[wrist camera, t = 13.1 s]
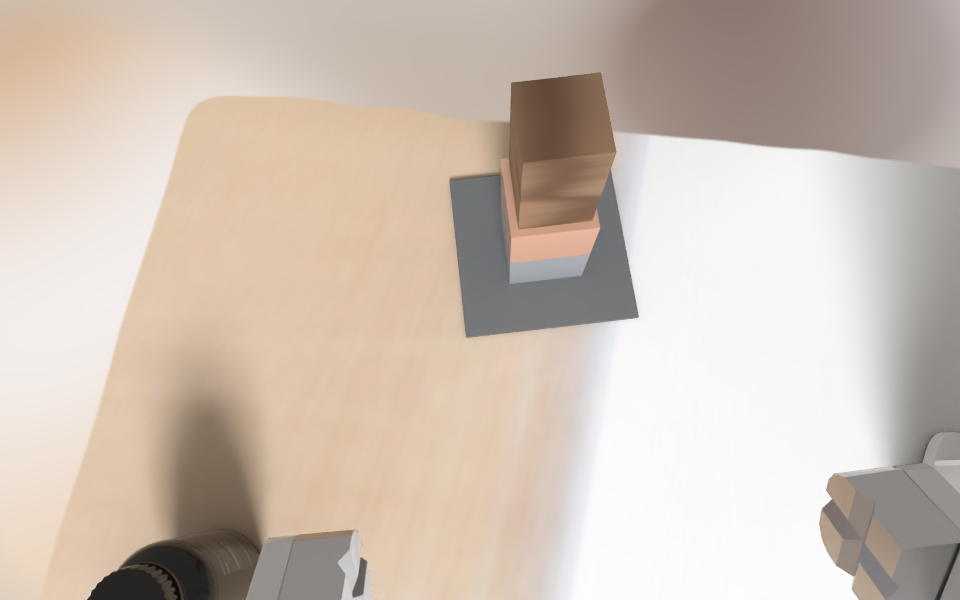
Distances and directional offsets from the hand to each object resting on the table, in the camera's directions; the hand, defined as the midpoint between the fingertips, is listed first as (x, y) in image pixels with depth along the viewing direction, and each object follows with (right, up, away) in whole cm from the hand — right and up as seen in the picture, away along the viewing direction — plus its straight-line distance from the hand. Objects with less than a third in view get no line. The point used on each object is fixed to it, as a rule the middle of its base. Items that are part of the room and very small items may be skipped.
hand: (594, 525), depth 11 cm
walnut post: (+3, +11, +31) cm, 33 cm away
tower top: (+3, +10, +36) cm, 38 cm away
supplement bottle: (-21, -17, +35) cm, 44 cm away
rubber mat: (+3, +8, +41) cm, 42 cm away
